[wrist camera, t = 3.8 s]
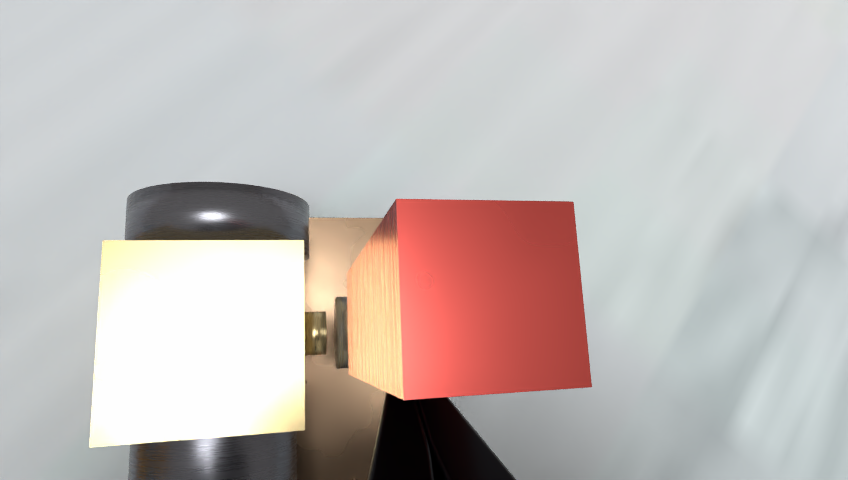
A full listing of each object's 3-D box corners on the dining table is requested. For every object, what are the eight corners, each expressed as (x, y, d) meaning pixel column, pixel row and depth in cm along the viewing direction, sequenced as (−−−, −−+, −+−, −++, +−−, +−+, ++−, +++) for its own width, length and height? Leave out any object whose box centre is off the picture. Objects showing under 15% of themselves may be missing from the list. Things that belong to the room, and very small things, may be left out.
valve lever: (387, 364, 17) (592, 398, 5) (327, 367, 16) (404, 412, 5) (385, 298, 17) (572, 192, 6) (326, 300, 17) (396, 188, 5)
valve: (418, 640, 20) (485, 798, 13) (145, 687, 18) (48, 905, 11) (402, 223, 23) (449, 168, 16) (165, 222, 21) (99, 158, 14)
